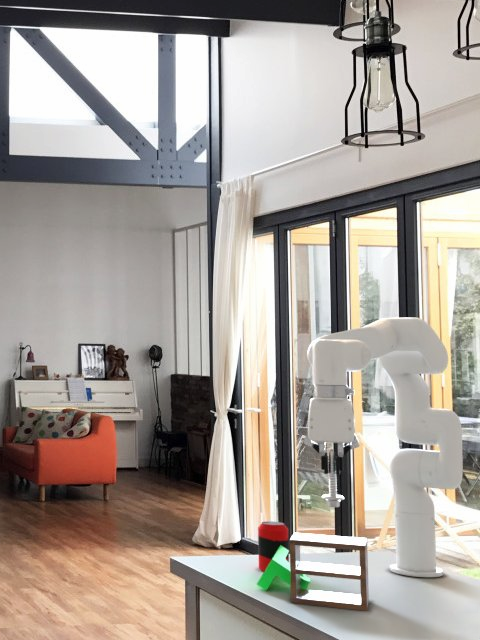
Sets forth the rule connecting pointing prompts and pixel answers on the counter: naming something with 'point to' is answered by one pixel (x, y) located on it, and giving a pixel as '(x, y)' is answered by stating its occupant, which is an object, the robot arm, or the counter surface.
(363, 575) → the shelf
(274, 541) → the soda can
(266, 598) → the counter surface
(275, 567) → the bracket
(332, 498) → the screw
